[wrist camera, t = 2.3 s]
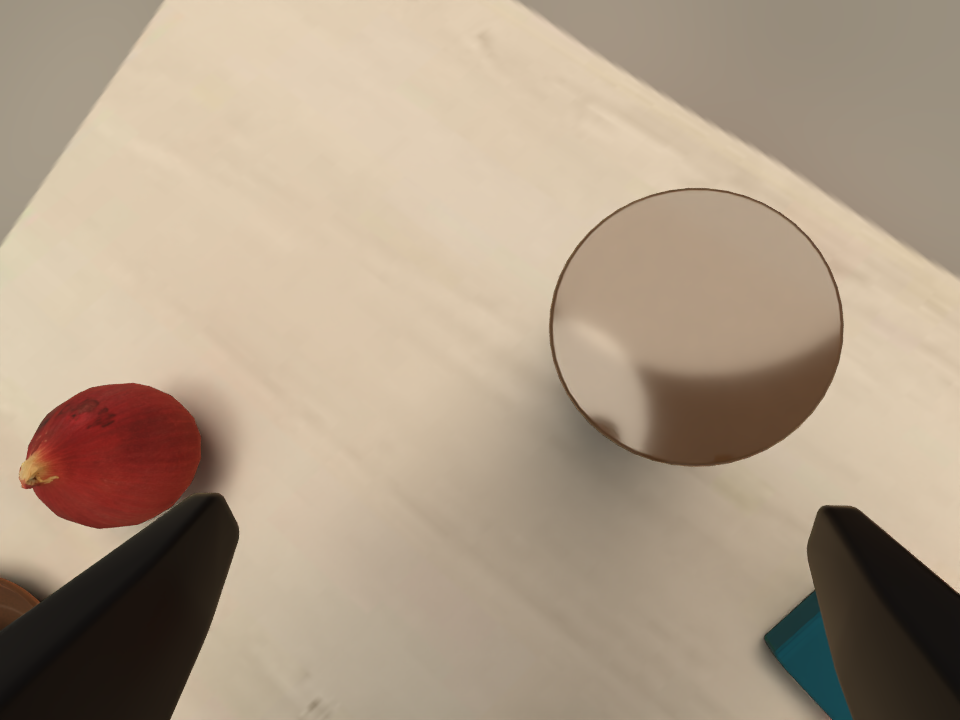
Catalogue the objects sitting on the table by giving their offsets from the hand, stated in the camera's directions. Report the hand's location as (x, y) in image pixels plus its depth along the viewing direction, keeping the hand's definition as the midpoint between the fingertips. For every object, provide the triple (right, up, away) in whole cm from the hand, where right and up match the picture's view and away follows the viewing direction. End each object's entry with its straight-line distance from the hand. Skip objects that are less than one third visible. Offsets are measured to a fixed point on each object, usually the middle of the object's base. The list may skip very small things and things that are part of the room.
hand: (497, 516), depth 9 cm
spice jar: (+6, +2, +15) cm, 16 cm away
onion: (-14, -2, +19) cm, 24 cm away
